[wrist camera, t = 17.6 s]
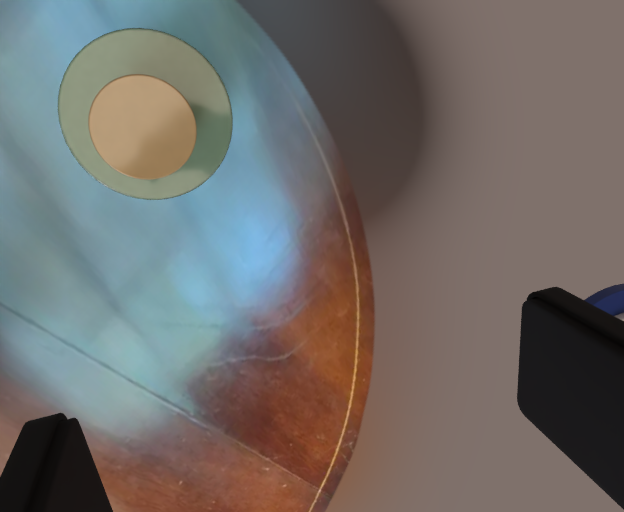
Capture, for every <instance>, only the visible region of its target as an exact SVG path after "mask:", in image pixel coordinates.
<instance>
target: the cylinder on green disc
mask: <svg viewBox="0 0 624 512" xmlns="http://www.w3.org/2000/svg"><path fill="white" fill-rule="evenodd" d="M58 115H59V122H60V126H61V130H62V134H63V136H64V139H65V141H66V144H67V145H68V147H69V149H70V151H71V153H72V154H73V156H74V157H75V159H76V160H77V161H78V163H79V164H80V165H81V166H82V167H83V168H84V170H85V171H86V172H87V173H88V174H90V175H91V176H92V177H93V178H94V179H95V180H97V181H98V182H100V183H101V184H103V185H104V186H106V187H108V188H110V189H112V190H113V191H115V192H118V193H121V194H123V195H126V196H130V197H134V198H138V199H146V200H161V199H169V198H173V197H177V196H181V195H183V194H186V193H188V192H190V191H192V190H194V189H196V188H197V187H199V186H200V185H202V184H203V183H204V182H206V181H207V180H208V179H209V178H210V177H211V176H212V175H213V174H214V173H215V171H216V170H217V169H218V167H219V166H220V164H221V163H222V161H223V159H224V157H225V155H226V153H227V150H228V148H229V144H230V140H231V135H232V109H231V104H230V100H229V96H228V93H227V91H226V88H225V86H224V84H223V82H222V80H221V78H220V76H219V75H218V73H217V72H216V70H215V69H214V67H213V66H212V65H211V64H210V62H209V61H208V60H207V59H206V58H205V57H204V56H203V55H202V54H201V53H200V52H199V51H197V50H196V49H195V48H194V47H192V46H191V45H189V44H188V43H186V42H185V41H183V40H181V39H179V38H177V37H175V36H173V35H170V34H167V33H165V32H161V31H157V30H153V29H144V28H127V29H122V30H116V31H113V32H110V33H107V34H104V35H102V36H100V37H98V38H96V39H94V40H93V41H92V42H90V43H89V44H87V45H86V46H85V47H84V48H83V49H82V50H81V51H80V52H79V53H78V54H77V55H76V56H75V57H74V58H73V60H72V61H71V63H70V64H69V66H68V68H67V70H66V72H65V73H64V76H63V79H62V82H61V85H60V90H59V95H58Z"/></svg>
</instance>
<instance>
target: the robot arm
mask: <svg viewBox="0 0 624 512" xmlns="http://www.w3.org/2000/svg"><path fill="white" fill-rule="evenodd" d="M517 401H518V405H519V407H520V410H521V411H522V413H523V414H524V415H525V417H527V419H529V420H530V421H531V422H532V423H533V424H534V425H535V426H536V427H537V428H538V429H539V430H540V431H541V432H542V433H543V434H544V435H545V436H546V437H548V438H549V439H550V440H551V441H552V442H553V443H554V444H555V445H556V446H557V447H558V448H559V449H560V450H561V451H562V452H564V453H565V454H566V455H567V456H568V457H569V458H570V459H571V460H572V461H573V462H574V463H575V464H576V465H577V466H578V467H579V468H580V469H581V470H583V471H584V472H585V473H586V474H587V475H588V476H589V477H590V478H591V479H592V480H593V481H594V482H595V483H596V484H597V485H598V486H599V487H600V488H602V489H603V490H604V491H605V492H606V493H607V494H608V495H609V496H610V497H611V498H612V499H613V500H614V501H615V502H617V504H618V505H620V506H621V507H622V508H623V509H624V313H621V314H619V315H616V316H613V315H611V314H609V313H607V312H605V311H603V310H601V309H599V308H598V307H596V306H594V305H592V304H590V303H588V302H586V301H584V300H582V299H580V298H578V297H576V296H575V295H572V294H571V293H569V292H567V291H565V290H563V289H561V288H558V287H552V288H548V289H544V290H540V291H537V292H532V293H531V294H529V296H528V298H527V301H525V302H524V303H523V306H522V319H521V337H520V356H519V374H518V393H517ZM0 512H113V510H112V508H111V505H110V503H109V500H108V497H107V495H106V492H105V489H104V487H103V484H102V482H101V479H100V476H99V474H98V471H97V468H96V466H95V463H94V461H93V458H92V455H91V453H90V450H89V447H88V445H87V442H86V440H85V437H84V434H83V432H82V429H81V426H80V424H79V422H78V420H77V419H76V418H71V419H68V420H67V418H66V416H65V415H64V414H63V413H58V414H54V415H51V416H47V417H43V418H39V419H35V420H31V421H28V422H26V423H25V425H24V426H23V428H22V430H21V432H20V435H19V437H18V439H17V441H16V443H15V446H14V448H13V450H12V452H11V455H10V457H9V459H8V461H7V463H6V466H5V468H4V470H3V472H2V475H1V477H0Z"/></svg>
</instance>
